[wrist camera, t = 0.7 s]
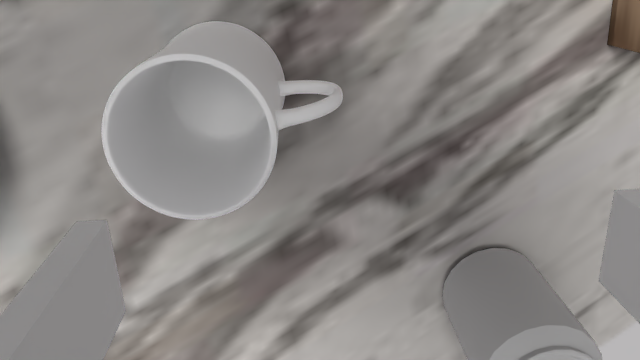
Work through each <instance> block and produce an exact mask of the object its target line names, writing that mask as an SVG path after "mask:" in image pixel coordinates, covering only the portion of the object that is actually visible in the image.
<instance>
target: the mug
mask: <svg viewBox="0 0 640 360" xmlns="http://www.w3.org/2000/svg"><path fill="white" fill-rule="evenodd" d="M291 94H323V95H328V97H326V98H324V99H322V100H320V101H317V102H314V103H311V104H308V105H304V106H300V107H296V108H291V109H283V110H282V108H283V105H284V100H285V96H286V95H291ZM342 101H343V93H342V90H341V88H340V87H339V86H338V85H337V84H335V83H332V82H328V81H320V80H295V81H285V78H284V73H283V70H282V67H281V64H280V62H279V60H278V58H277V56H276V54H275V53H274V51H273V50H272V49H271V47H270V46H269V45H268V44H267V43H266V42H265V41H264V40H263V39H262V38H261V37H260V36H258V35H257V34H256V33H254V32H253V31H251V30H249V29H247V28H245V27H243V26H240V25H237V24H234V23H230V22H223V21H210V22H204V23H199V24H196V25H193V26H191V27H189V28H187V29H185V30H183V31H182V32H180V33H179V34H178V35H176V36H175V37H174V38H173V39H172V40H171V41H170V42H169V43H168V45H167V46H166V47H165V48H164V49H162V50H161V51H159V52H158V53H156V54H155V55H153V56H151V57H150V58H148V59H147V60H145V61H144V62H142V63H141V64H139V65H138V66H136V67H135V68H134V69H132V70H131V71H130V72H129V73H127V74H126V75H125V76H124V77H123V78H122V79H121V80H120V82H119V83H118V84H117V85H116V87H115V88H114V90H113V91H112V93H111V95H110V97H109V99H108V101H107V103H106V106H105V109H104V113H103V118H102V128H101V133H102V144H103V149H104V153H105V156H106V159H107V161H108V164H109V166H110V168H111V170H112V172H113V173H114V175H115V177H116V178H117V180H118V181H119V182H120V184H121V185H122V186H123V187H124V188H125V189H126V190H127V191H128V192H129V193H130V194H131V195H132V196H133V197H134V198H135V199H137V200H138V201H139V202H141V203H142V204H144V205H145V206H147V207H149V208H151V209H153V210H155V211H157V212H159V213H162V214H165V215H168V216H171V217H175V218H181V219H189V220H202V219H210V218H215V217H219V216H223V215H226V214H228V213H231V212H233V211H235V210H237V209H239V208H240V207H242V206H243V205H245V204H246V203H248V202H249V201H250V200H251V199H252V198H253V197H255V196H256V194H257V193H258V192H259V191H260V190H261V189H262V187H263V186H264V184H265V183H266V181H267V180H268V178H269V176H270V174H271V171H272V169H273V166H274V163H275V159H276V154H277V145H278V133H279V130H281V129H283V128H286V127H289V126H293V125H297V124H301V123H304V122H308V121H311V120H314V119H317V118H320V117H322V116H325V115H327V114H329V113H331V112H332V111H334V110H335V109H337V108H338V107H339V106H340V105H341V103H342Z"/></svg>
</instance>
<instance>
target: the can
mask: <svg viewBox="0 0 640 360" xmlns="http://www.w3.org/2000/svg"><path fill="white" fill-rule="evenodd" d="M442 297H443V302H444V307H445V310H446V312H447V314H448V317H449V319H450V321H451V323H452V326H453V328H454V330H455V332H456V335H457V337H458V339H459V341H460V344H461V346H462V348H463V350H464V353H465V355H466V357H467V359H468V360H602V354H601V352H600V350H599V348H598V347H597V345H596V343H595V341H594V340H593V339H592V337H591V336H590V335H589V334H588V332H587V331H586V330H585V329H584V327H583V326H582V325H581V324H580V322H579V321H578V320H577V319H576V317H575V316H574V315H573V314H572V312H571V311H570V310H569V309H568V307H567V306H566V305H565V304H564V302H563V301H562V300H561V299H560V297H559V296H558V295H557V294H556V292H555V291H554V290H553V289H552V287H551V286H550V285H549V284H548V282H547V281H546V280H545V279H544V277H543V276H542V275H541V274H540V272H539V271H538V270H537V269H536V267H535V266H534V265H533V264H532V262H531V261H529V260H528V259H527V258H526V257H524V256H523V255H522V254H521V253H518V252H515V251H512V250H510V249H504V248H490V249H486V250H482V251H477V252H475V253H473V254H471V255H470V256H468V257H466V258H464V259H462V260H461V261H460V262H459V263H458V264H457V265H456V266H455V267H454V268H453V269H452V270H451V272H450V274H449V276H448V277H447V279H446V281H445V283H444V289H443V295H442Z"/></svg>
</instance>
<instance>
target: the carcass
mask: <svg viewBox="0 0 640 360" xmlns="http://www.w3.org/2000/svg"><path fill="white" fill-rule="evenodd" d="M607 45H611V46H615V47H619V48H623V49H627V50H631V51H634V52H638V53H640V0H613V4H612V12H611V20H610V28H609V36H608V44H607Z"/></svg>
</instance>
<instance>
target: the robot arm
mask: <svg viewBox="0 0 640 360" xmlns="http://www.w3.org/2000/svg"><path fill="white" fill-rule="evenodd" d="M599 282H600V283H601V284H602V285H603V286H604V287H605V288H606V289H607V290H608V291H609V292H610V293H611V294H612V295H613V296H614V297H615V298H616V299H617V301H618V302H619V303H620V304H621V305H622V306H623V307H624V308H625V309H626V310H627V311H628V312H629V313H630V314H631V315H632V316H633V317H634V318H635V319H636V320H637V321H638V323H639V324H640V189H627V190H614V195H613V201H612V206H611V212H610V218H609V224H608V229H607V235H606V241H605V246H604V252H603V258H602V264H601V269H600V275H599ZM125 312H126V308H125V303H124V299H123V294H122V289H121V284H120V279H119V275H118V270H117V265H116V260H115V256H114V251H113V246H112V241H111V236H110V232H109V227H108V222H107V220H95V221H78V222H76V223H75V224H74V225H73V227H72V228H71V229H70V230H69V231H68V233H67V234H66V235H65V236H64V238H63V239H62V240H61V241H60V243H59V244H58V245H57V246H56V248H55V249H54V250H53V251H52V252H51V254H50V255H49V256H48V257H47V259H46V260H45V261H44V262H43V264H42V265H41V266H40V267H39V268H38V270H37V271H36V272H35V273H34V275H33V276H32V277H31V278H30V280H29V281H28V282H27V283H26V284H25V286H24V287H23V288H22V289H21V291H20V292H19V293H18V294H17V296H16V297H15V298H14V299H13V300H12V302H11V303H10V304H9V305H8V307H7V308H6V309H5V310H4V312H3V313H2V314H1V315H0V360H103V359H104V356H105V354H106V352H107V350H108V348H109V346H110V344H111V342H112V339H113V337H114V335H115V333H116V331H117V329H118V327H119V324H120V322H121V320H122V318H123V316H124V314H125Z"/></svg>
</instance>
